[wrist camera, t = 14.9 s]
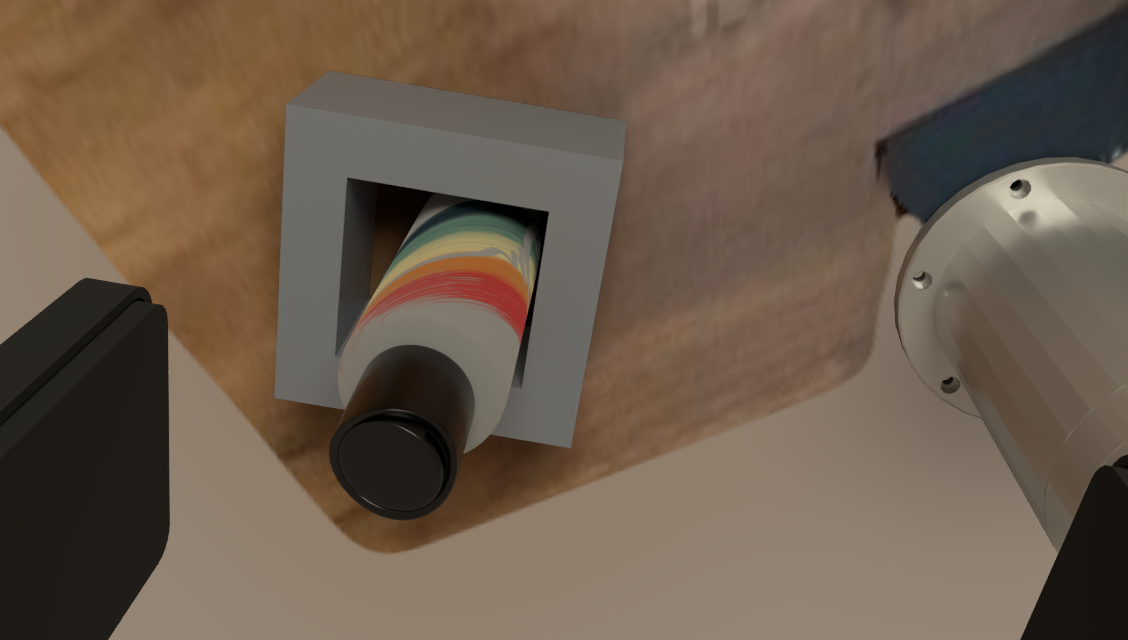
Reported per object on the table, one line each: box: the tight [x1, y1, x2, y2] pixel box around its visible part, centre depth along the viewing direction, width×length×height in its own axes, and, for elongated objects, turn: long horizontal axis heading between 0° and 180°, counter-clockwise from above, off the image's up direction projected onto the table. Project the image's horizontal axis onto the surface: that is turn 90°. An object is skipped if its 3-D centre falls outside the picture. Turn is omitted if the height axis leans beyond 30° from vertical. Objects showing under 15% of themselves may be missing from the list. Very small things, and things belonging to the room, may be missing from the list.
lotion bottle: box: [329, 192, 543, 520], centre depth 39 cm, size 6×6×20 cm
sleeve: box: [274, 71, 626, 448], centre depth 46 cm, size 13×13×6 cm
